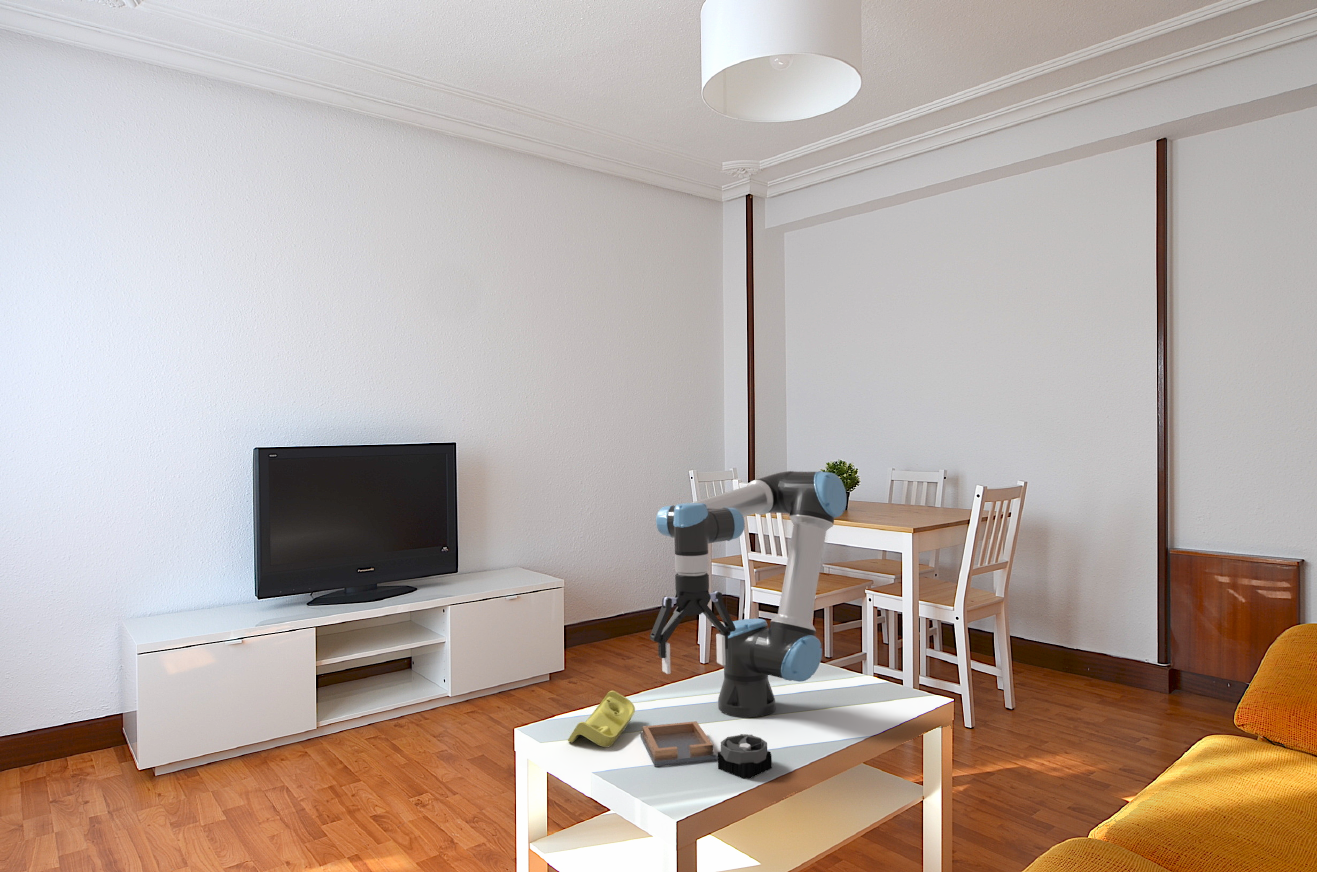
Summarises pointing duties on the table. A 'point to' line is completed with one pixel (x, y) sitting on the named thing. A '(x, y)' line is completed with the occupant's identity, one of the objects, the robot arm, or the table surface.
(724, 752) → the cpu cooler
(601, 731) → the plastic component
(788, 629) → the robot arm
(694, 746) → the board
